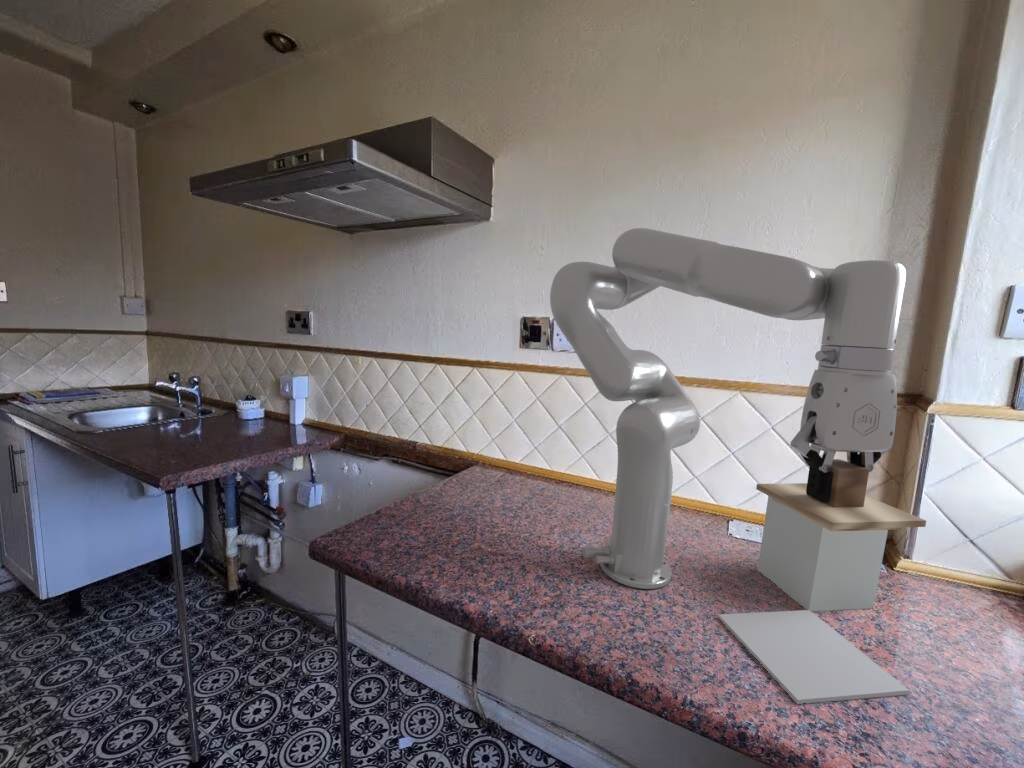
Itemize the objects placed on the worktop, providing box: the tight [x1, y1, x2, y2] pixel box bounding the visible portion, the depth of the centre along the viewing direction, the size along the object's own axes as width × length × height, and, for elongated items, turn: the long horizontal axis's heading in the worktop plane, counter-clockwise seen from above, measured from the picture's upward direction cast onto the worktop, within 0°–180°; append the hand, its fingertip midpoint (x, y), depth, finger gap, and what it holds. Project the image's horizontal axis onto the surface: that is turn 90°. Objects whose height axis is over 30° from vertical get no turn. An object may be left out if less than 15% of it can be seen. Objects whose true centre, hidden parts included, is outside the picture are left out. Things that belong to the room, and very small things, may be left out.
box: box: [757, 495, 889, 613], centre depth 80 cm, size 12×12×15 cm
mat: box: [717, 609, 910, 705], centre depth 64 cm, size 16×16×1 cm
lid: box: [755, 458, 927, 531], centre depth 60 cm, size 13×13×7 cm
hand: (834, 496), depth 60 cm, fingers closed on lid, 4 cm apart
